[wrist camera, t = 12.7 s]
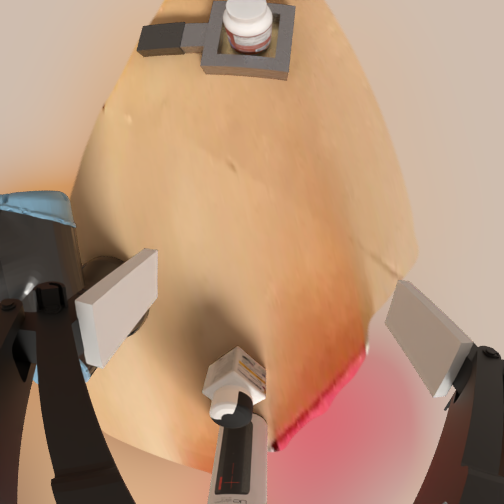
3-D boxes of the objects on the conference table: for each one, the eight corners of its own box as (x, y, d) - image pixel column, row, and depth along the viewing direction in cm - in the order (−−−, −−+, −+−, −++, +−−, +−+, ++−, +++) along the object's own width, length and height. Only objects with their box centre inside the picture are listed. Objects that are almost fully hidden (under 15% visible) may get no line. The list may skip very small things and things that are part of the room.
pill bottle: (233, 22, 33) (224, -16, 22) (274, 26, 33) (277, -11, 22) (225, 54, 35) (213, 21, 24) (267, 59, 35) (268, 26, 24)
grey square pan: (139, 76, 37) (129, 69, 33) (154, 16, 34) (145, 6, 30) (286, 80, 37) (288, 72, 33) (293, 17, 33) (295, 6, 30)
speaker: (270, 411, 54) (269, 520, 29) (266, 439, 56) (264, 535, 31) (219, 408, 54) (199, 515, 29) (221, 436, 57) (205, 530, 32)
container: (267, 370, 50) (266, 421, 38) (237, 388, 52) (230, 439, 40) (238, 344, 49) (230, 395, 36) (208, 365, 51) (194, 415, 38)
